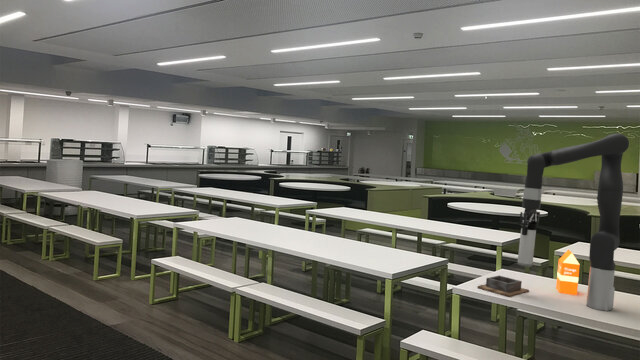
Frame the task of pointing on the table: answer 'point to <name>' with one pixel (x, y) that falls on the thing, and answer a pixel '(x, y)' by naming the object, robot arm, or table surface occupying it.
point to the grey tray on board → (503, 286)
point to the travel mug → (527, 246)
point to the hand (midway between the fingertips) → (528, 234)
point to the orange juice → (568, 274)
